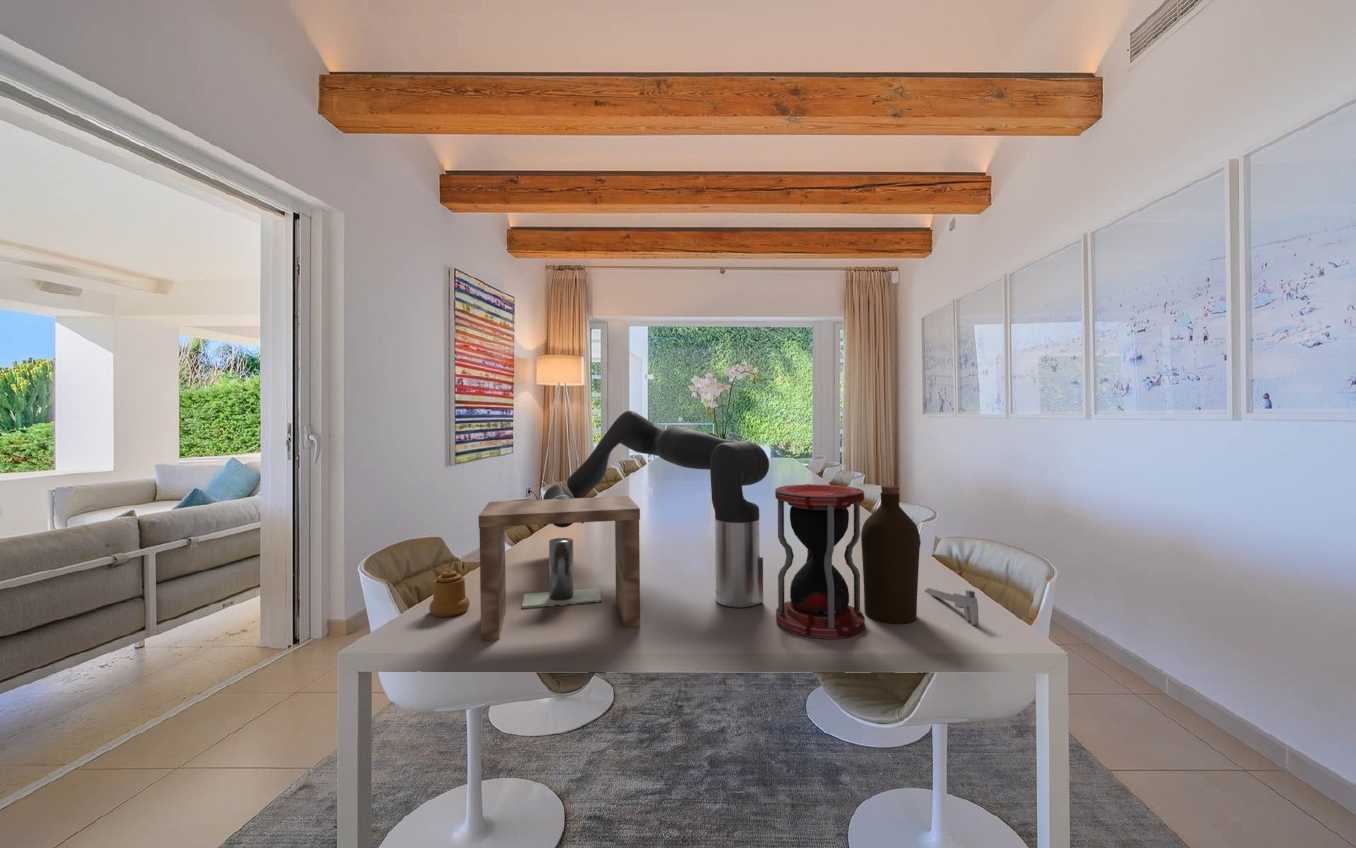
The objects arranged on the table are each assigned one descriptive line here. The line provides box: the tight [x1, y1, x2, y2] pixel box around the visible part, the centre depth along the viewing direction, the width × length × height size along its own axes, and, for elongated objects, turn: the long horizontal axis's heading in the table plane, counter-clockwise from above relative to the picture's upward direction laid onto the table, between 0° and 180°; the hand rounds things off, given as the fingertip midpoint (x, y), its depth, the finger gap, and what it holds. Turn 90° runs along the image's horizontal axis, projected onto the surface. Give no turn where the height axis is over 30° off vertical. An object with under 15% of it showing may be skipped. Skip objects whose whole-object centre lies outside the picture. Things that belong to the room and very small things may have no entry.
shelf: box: [478, 495, 641, 642], centre depth 106 cm, size 28×16×22 cm, turn 102°
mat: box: [521, 587, 602, 609], centre depth 118 cm, size 16×8×1 cm, turn 102°
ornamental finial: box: [428, 570, 471, 618], centre depth 111 cm, size 8×8×8 cm
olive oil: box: [860, 484, 922, 625], centre depth 107 cm, size 11×11×25 cm
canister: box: [548, 537, 574, 601], centre depth 118 cm, size 5×5×12 cm
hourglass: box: [774, 483, 866, 640], centre depth 104 cm, size 16×16×25 cm
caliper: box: [924, 587, 979, 626], centre depth 111 cm, size 20×1×6 cm, turn 0°
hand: (564, 520), depth 128 cm, fingers open, 8 cm apart
